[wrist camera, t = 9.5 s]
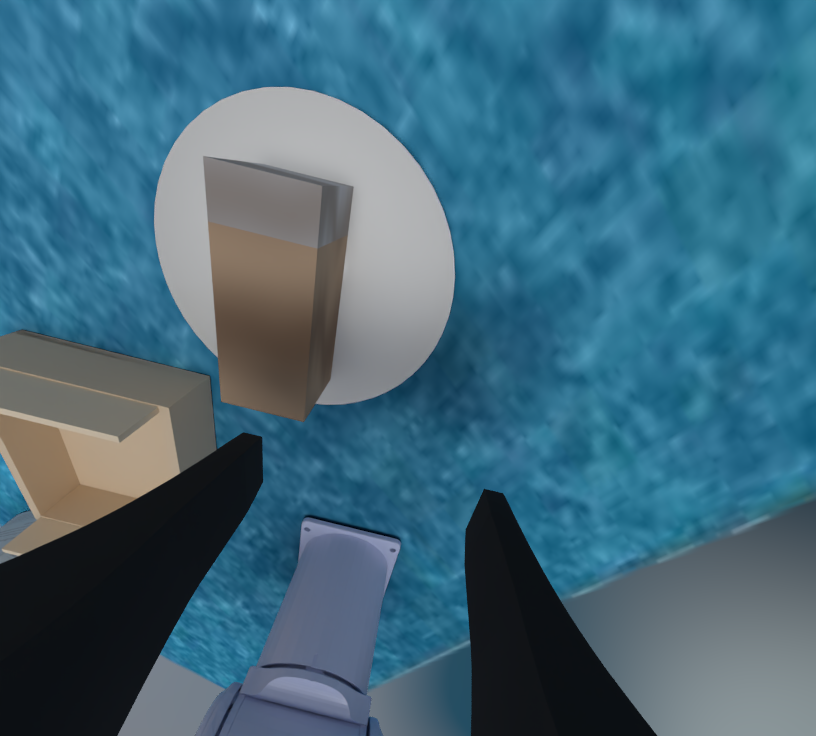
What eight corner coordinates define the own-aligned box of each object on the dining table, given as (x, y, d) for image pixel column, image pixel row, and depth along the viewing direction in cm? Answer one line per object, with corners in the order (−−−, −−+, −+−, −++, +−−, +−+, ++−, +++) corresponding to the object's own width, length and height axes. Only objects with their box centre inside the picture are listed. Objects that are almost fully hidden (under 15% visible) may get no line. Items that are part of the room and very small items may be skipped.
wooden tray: (222, 517, 28) (170, 593, 23) (81, 482, 28) (-5, 550, 23) (209, 376, 21) (129, 438, 16) (21, 329, 21) (-122, 376, 16)
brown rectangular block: (330, 379, 19) (303, 422, 16) (263, 362, 19) (221, 401, 16) (353, 186, 14) (322, 185, 11) (263, 164, 14) (202, 156, 11)
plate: (416, 422, 21) (415, 429, 20) (184, 364, 21) (175, 370, 20) (498, 140, 14) (501, 138, 13) (142, 51, 14) (125, 43, 13)
